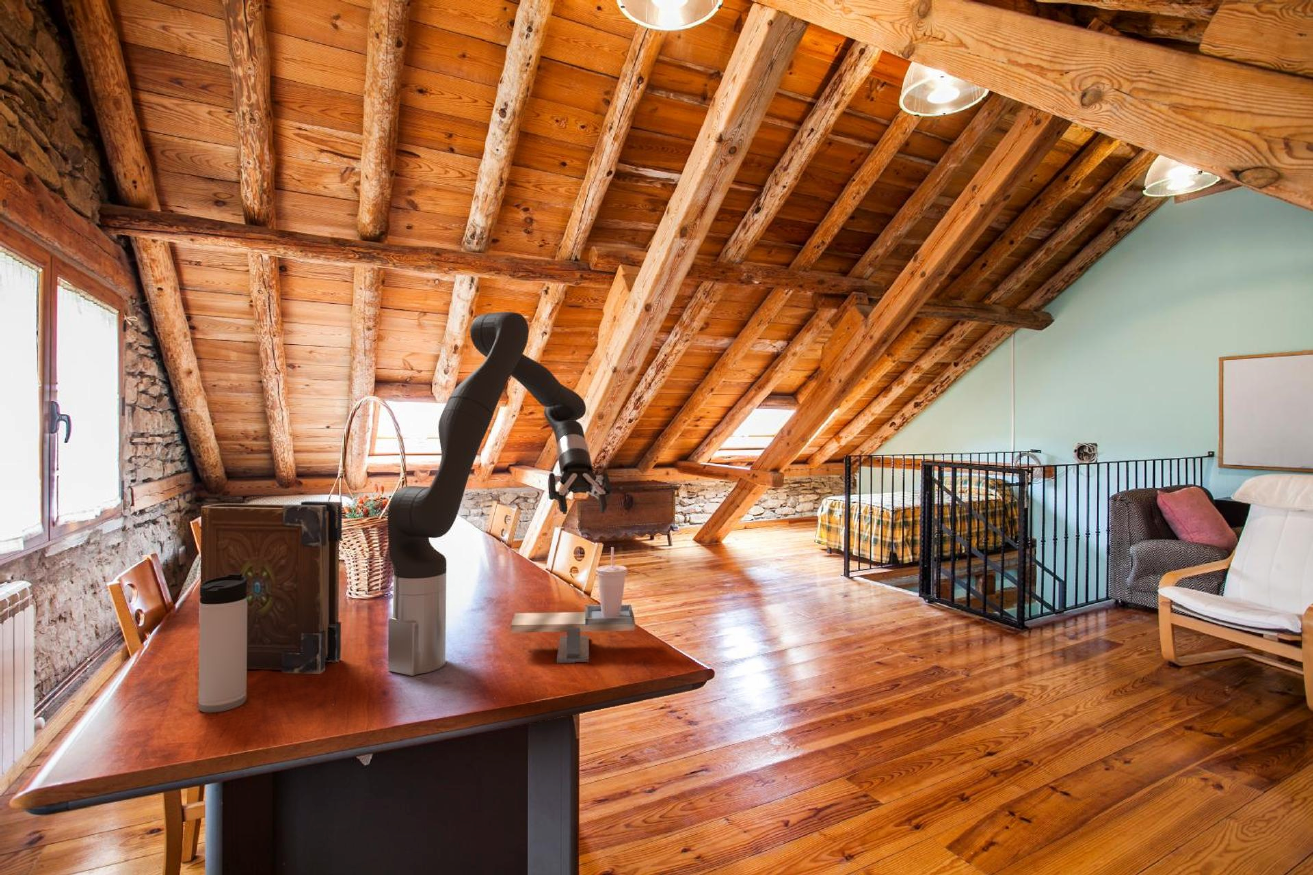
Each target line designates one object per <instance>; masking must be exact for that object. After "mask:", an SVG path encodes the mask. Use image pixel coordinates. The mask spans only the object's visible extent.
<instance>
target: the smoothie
mask: <svg viewBox="0 0 1313 875" xmlns="http://www.w3.org/2000/svg"><path fill="white" fill-rule="evenodd" d="M614 552H615V547H614V546H611V547H610V565H609V564H606V565H605V564H604V565H601V566H598V567H596V569H595V574H596V575H597V582H598V584H597V585H598V593H599V603H600V605H601V612H602V617H603V618H611V617H620V613H621V606H622V605H623V598H624V590H625V582H626V575H627V574H628V568H627V567H626V566H624V565H618V564H617V565H616V564H615V562H614V560H615V556H614V555H615V553H614ZM614 564H615V565H614Z"/></svg>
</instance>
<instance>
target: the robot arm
mask: <svg viewBox="0 0 1313 875" xmlns="http://www.w3.org/2000/svg"><path fill="white" fill-rule="evenodd" d="M469 334H470V339H471V342H472V344H473V346H474V347H475V349H476V350H477V351H478V352H479V354H482V356H484V357H485V360H484V361H483V362H482V363H481V364H480V365H479V366H478V367H477V368H476V369H475V370H473V372H471V373H470V374H469V375H468V376H467V377H465V379H463V381H461V382H460V383H459V384H458V385H457V386H456V387H455V389H454V390H453V391H452V393H450V396H449V397H448V399H447V402H446V404H445V407H444V408H443V410H442V412H441V414H440V416H439V421H438V437H439V438H438V439H439V444H440V451H441V452H440V453H441V457H440V463H439V467H438V468H437V472H436V474H435V476H434V478H433V481H432V483H431V484H430V486H419V485H418V486H417V485H412V486H411V485H407V486H402V487H400V488H399V489H397V490H396V492H394V494H393V495H392V497H391V499H390V501H389V504H388V509H387V536H388V537H387V538H388V539H387V540H388V557H389V560H390V563H391V564H392V568H393V578H392V579H393V585H392V586H393V587H392V590H393V592H392V617H390V618H389V619H388V625H387V627H388V631H387V632H388V636H387V642H388V643H387V644H388V645H387V651H388V652H387V670H388V671H389V672H394V673H397V674H402V675H407V676H410V677H414V676H416V675H419V674H426V673H431V672H434V671H436V670H438V669H441V668H442V667H444V666H445V664H446V654H447V653H446V648H447V647H446V645H447V644H446V643H447V642H446V639H447V638H446V637H447V636H446V635H447V634H446V633H447V632H446V630H447V620H446V619H447V616H446V615H447V558H446V557H445V555H444V554H442V553H441V552H440V551H438V550H437V549H435V547H434V546H433V545H432V543H431V542H430V539H436V538H441V537H443V536H446V534H447V533H448V532H449V531H450V530H451V528H452V527H453V525H454V524H455V521H456V519H457V516H458V514H459V510H460V507H461V504H462V500H463V498H464V497H463V496H464V494H465V489H466V487H467V484H468V479H469V476H470V474H471V471H472V468H473V465H474V463H475V460H476V458H477V455H478V452H479V450H480V447H481V445H482V442H483V440H484V438H485V435H486V434H487V431H488V428H489V427H490V425H491V422H492V419H493V417H494V414H495V412H496V408H497V406H498V403H499V401H500V399H501V397H502V394H503V392H504V390H505V387H506V386H507V384H508V381H509V379H510V377H512V378H514V379H515V380H516V381H517V382H519V384H521V385H522V386H523V387H524V388H525V389H526V390H527V391H528V392H529V393H530V395H531V396H532V397H533V398H534V399H535V400H536V401H537V402H538V403H539V404H540V405H541V406H543V407H544V409H543V415H544V418H545V419H546V421H547V423H548V424H549V425H550V427H551V429H552V432H553V434H554V437H555V442H556V447H557V448H556V454H557V461H558V466H559V471H560V475H556V474H555V473H554V472H550V473H549V474H548V479H547V485H548V486H547V487H548V488H547V489H548V498H549V500H550V501H554V500H556V501H557V503H558V510H559V511H560V513H562V515H567V513H568V503H567V497H568V496H569V494H571V493H573V494H579V493H582V494H587V493H588V494H589V495H590V496H591V497H595V498H596V499H597V503H598V508H599V513H600V514H604V513H605V511H607V507H608V502H607V499H608V500H609V499H611V497H612V493H613V488H612V485H611V482H610V478H609V475H608V474H609V473H607V472H602V474H599V475H596V473H595V472H594V468H593V465H592V464H593V463H592V460H591V455H590V452H589V450H590V449H589V446H588V444H587V442H586V438H585V432H584V428H583V426H582V424H581V423H580V422H579V421H578V420H580V419H582V418H583V417H584V416H585V415H586V412H587V406H586V403H585V401H584V399H583V398H582V396H581V395H579V394H578V393H577V392H575V391H574V390H572V389H571V388H568V387H567V386H566V385H563V384H562V383H561V382H559V380H558V379H557V377H555V375H554V374H553V373H552V371H550V370H549V369H548V368H547V367H545V366H544V365H542V364H541V363H540V362H538V361H536V360H534V359H532V358H530V357H528V356H527V355H525V354H523V353H525V352H524V351H525V349H526V347H527V345H528V340H529V337H530V336H529V335H530V329H529V324H528V321H527V319H526V318H525V316H523V314H521V313H518V312H514V311H503V312H488V313H483V314H480V315H478V316H476V317H475V318H474V319H473V320H472V322H471V325H470V330H469ZM558 483H560V484H561V485H562V487H561V489H560V490H559V491H557V489H556V486H557V485H558ZM600 486H602V487H600ZM429 538H430V539H429Z"/></svg>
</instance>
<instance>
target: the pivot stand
mask: <svg viewBox="0 0 1313 875" xmlns="http://www.w3.org/2000/svg"><path fill="white" fill-rule="evenodd" d="M589 637H590V636H589V634H581V632H580V627H579V628H567V632H566V634H565V635H559V639H558V640H559V642H558V648H557V657H556V664H576V663H575V662H587V663H590V650H589V648H590V646H589V645H590V644H589V641H590V640H589Z"/></svg>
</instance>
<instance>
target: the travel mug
mask: <svg viewBox="0 0 1313 875" xmlns="http://www.w3.org/2000/svg"><path fill="white" fill-rule="evenodd" d="M246 591H247V578H246V577H244V576H242V574H229V575H228V576H224V577H218V578H214V579H211V580H208V581H205V582H203V583H202V584H201V583H200V585H199V601H198V603H199V608H198V706H197V707H198V710H199V711H200V712H203V713H209V714H213V713H221V712H226V711H231V710H234V709H236V708H238V707H240V706H242V705H244V703H246V701H247V681H248V679H247V678H248V677H247V674H248V673H247V672H248V671H247V670H248V669H247V601H246V600H247V592H246Z"/></svg>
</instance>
